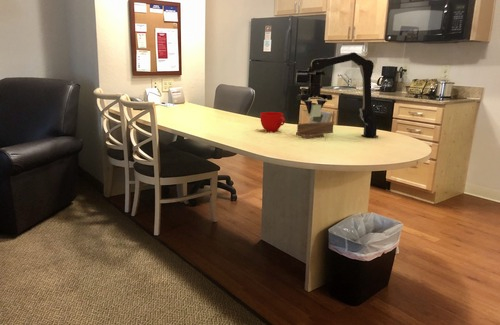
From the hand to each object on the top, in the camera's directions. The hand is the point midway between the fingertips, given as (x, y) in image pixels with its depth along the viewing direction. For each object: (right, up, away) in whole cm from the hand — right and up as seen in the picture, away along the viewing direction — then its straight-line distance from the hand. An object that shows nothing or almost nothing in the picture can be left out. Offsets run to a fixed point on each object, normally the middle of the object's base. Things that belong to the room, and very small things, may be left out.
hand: (313, 113), depth 207 cm
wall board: (+4, -11, +5) cm, 13 cm away
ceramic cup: (-20, -8, +16) cm, 27 cm away
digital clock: (+7, -6, +24) cm, 26 cm away
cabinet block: (0, -1, 0) cm, 1 cm away
